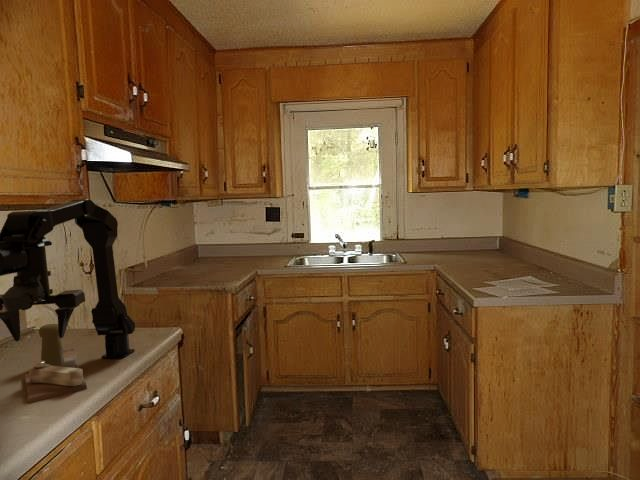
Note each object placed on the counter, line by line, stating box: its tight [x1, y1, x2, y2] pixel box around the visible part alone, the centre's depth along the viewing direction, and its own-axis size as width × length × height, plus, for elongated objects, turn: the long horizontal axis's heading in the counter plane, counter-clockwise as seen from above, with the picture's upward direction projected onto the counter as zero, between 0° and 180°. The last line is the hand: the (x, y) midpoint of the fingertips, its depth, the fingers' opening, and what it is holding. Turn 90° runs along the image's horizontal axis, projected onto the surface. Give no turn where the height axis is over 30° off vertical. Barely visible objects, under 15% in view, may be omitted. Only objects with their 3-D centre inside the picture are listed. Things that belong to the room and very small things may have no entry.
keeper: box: [32, 347, 79, 368], centre depth 116 cm, size 9×8×6 cm
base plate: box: [24, 363, 88, 403], centre depth 113 cm, size 18×12×1 cm, turn 34°
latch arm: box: [28, 364, 85, 386], centre depth 110 cm, size 15×4×3 cm, turn 71°
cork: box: [38, 323, 64, 367], centre depth 126 cm, size 6×6×11 cm
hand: (39, 339), depth 103 cm, fingers open, 9 cm apart
